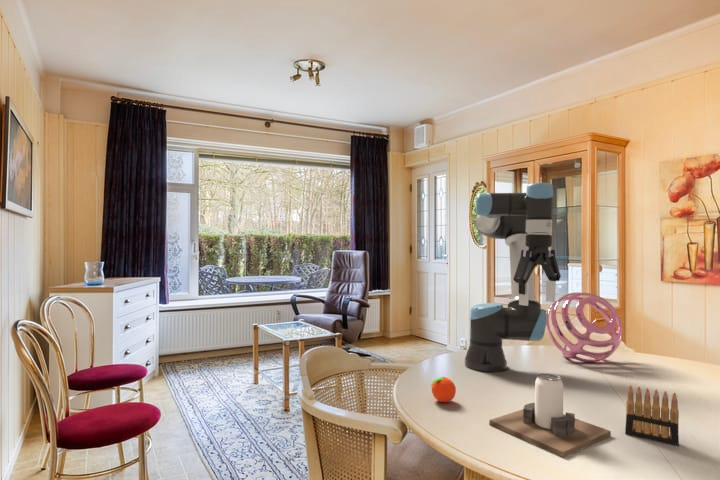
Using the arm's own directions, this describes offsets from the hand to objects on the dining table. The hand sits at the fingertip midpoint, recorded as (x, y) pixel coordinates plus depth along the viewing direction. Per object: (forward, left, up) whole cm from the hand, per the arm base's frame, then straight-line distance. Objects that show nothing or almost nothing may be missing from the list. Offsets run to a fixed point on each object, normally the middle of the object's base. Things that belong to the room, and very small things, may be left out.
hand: (537, 303), depth 135 cm
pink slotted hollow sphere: (-15, +53, -28) cm, 61 cm away
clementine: (-11, -29, -28) cm, 42 cm away
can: (+17, -20, -27) cm, 38 cm away
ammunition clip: (+33, -3, -28) cm, 44 cm away
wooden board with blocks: (+17, -20, -28) cm, 38 cm away
